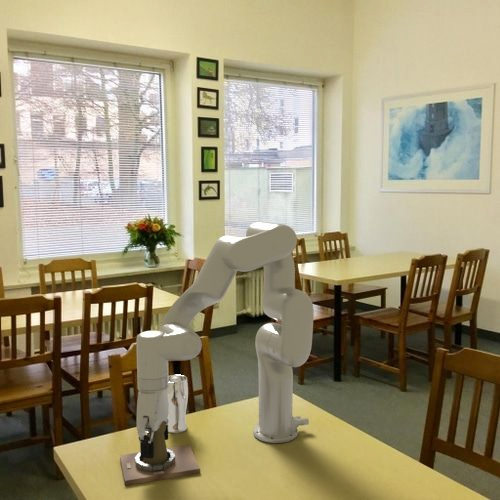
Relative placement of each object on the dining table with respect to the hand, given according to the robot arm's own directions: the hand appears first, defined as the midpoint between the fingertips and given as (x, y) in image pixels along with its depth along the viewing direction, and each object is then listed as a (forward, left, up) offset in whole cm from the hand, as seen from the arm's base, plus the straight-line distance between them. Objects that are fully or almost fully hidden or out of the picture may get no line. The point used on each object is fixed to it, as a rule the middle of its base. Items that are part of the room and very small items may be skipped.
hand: (154, 448), depth 138 cm
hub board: (-1, 0, -5) cm, 5 cm away
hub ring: (0, 0, -4) cm, 4 cm away
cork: (0, 0, -4) cm, 4 cm away
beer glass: (-9, -20, -5) cm, 23 cm away
